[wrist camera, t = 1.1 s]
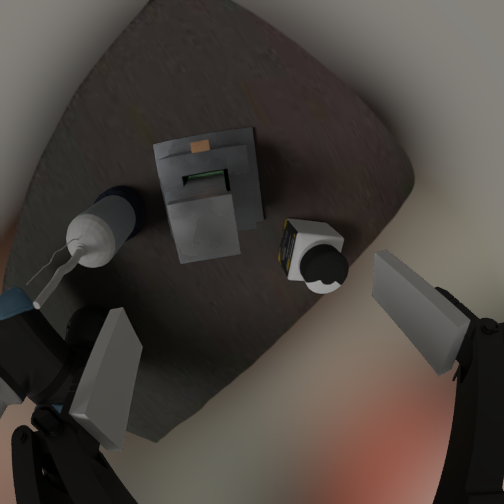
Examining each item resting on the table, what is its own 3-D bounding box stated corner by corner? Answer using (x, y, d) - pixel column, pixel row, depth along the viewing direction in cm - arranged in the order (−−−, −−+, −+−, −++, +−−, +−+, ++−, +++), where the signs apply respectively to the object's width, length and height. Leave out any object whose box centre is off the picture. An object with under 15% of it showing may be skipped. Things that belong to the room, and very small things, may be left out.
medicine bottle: (285, 217, 43) (309, 247, 32) (327, 222, 44) (361, 252, 33) (277, 259, 46) (296, 299, 35) (317, 262, 47) (345, 300, 36)
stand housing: (172, 234, 42) (162, 261, 33) (154, 144, 36) (136, 147, 27) (263, 219, 43) (275, 242, 34) (251, 127, 37) (262, 125, 28)
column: (196, 199, 40) (180, 263, 21) (191, 169, 38) (166, 205, 19) (227, 194, 40) (240, 254, 21) (223, 163, 38) (231, 194, 19)
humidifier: (110, 243, 41) (35, 348, 18) (90, 197, 37) (-13, 271, 15) (153, 227, 41) (96, 334, 18) (134, 177, 37) (42, 239, 15)
